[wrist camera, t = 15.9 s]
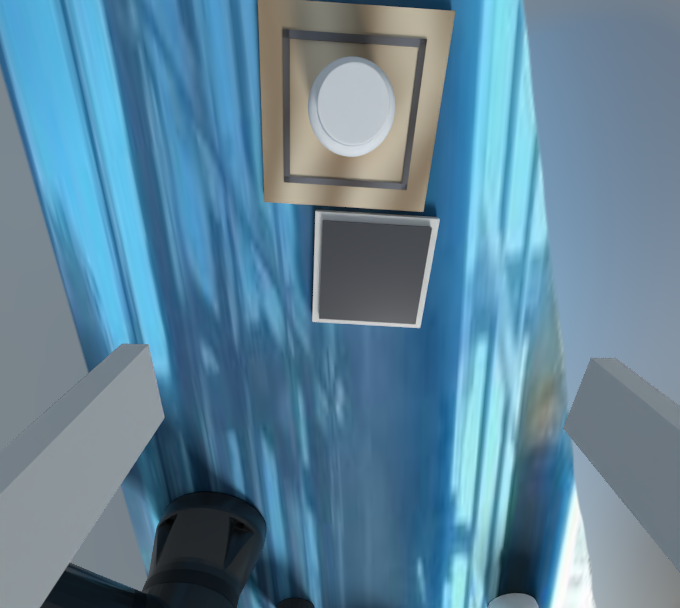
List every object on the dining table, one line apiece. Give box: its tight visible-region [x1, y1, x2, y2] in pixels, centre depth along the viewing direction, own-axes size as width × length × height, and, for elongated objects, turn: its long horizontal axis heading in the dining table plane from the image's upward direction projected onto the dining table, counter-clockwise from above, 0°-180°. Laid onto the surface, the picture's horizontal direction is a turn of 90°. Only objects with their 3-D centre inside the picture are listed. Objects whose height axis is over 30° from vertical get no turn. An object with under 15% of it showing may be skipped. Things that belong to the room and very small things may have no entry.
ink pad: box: [312, 209, 440, 328], centre depth 33 cm, size 11×11×2 cm
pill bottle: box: [308, 56, 395, 157], centre depth 23 cm, size 5×5×10 cm
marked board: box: [258, 0, 455, 212], centre depth 27 cm, size 14×14×1 cm
